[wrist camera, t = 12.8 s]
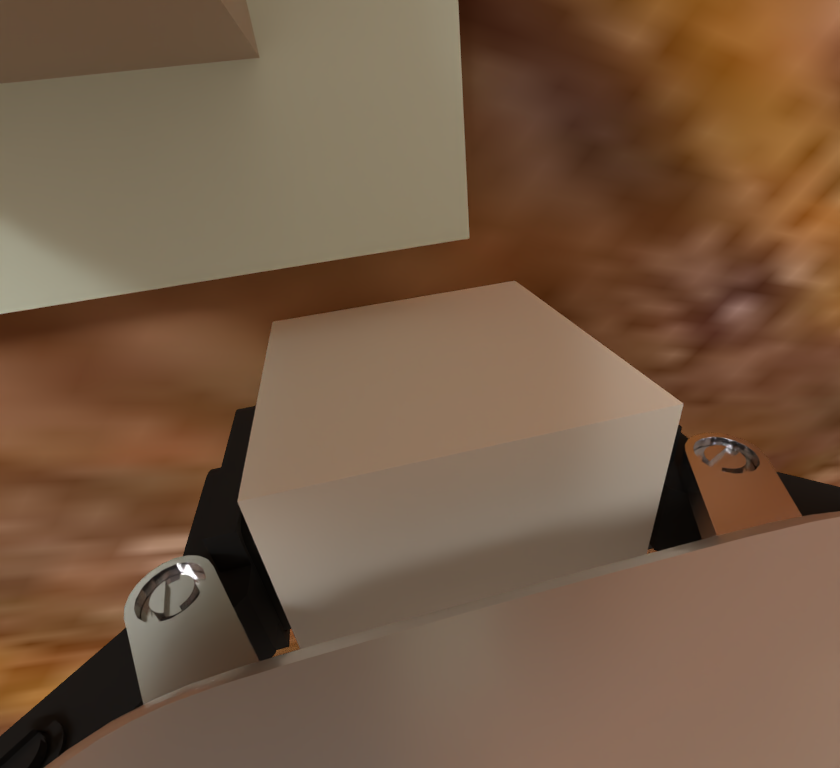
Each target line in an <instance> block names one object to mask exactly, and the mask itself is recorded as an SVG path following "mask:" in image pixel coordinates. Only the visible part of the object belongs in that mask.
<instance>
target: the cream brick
mask: <svg viewBox="0 0 840 768" xmlns="http://www.w3.org/2000/svg"><path fill="white" fill-rule="evenodd" d="M682 408H683V403H682V402H680V401H679V400H678V399H676V398H675V397H674V396H672V395H671V394H670V393H668V392H667V391H665V390H664V389H663V388H661V387H660V386H659V385H657V384H656V383H655V382H653V381H652V380H650V379H649V378H648V377H646V376H645V375H644V374H642V373H641V372H639V371H638V370H637V369H635V368H634V367H633V366H631V365H630V364H629V363H627V362H626V361H624V360H623V359H622V358H620V357H619V356H618V355H616V354H615V353H613V352H612V351H611V350H609V349H608V348H607V347H605V346H604V345H603V344H601V343H600V342H598V341H597V340H596V339H594V338H593V337H592V336H590V335H589V334H588V333H586V332H585V331H583V330H582V329H581V328H579V327H578V326H577V325H575V324H574V323H572V322H571V321H570V320H568V319H567V318H566V317H564V316H563V315H562V314H560V313H559V312H557V311H556V310H555V309H553V308H552V307H551V306H549V305H548V304H546V303H545V302H544V301H542V300H541V299H540V298H538V297H537V296H536V295H534V294H533V293H531V292H530V291H529V290H527V289H526V288H525V287H523V286H522V285H520V284H519V283H518V282H516V281H510V282H504V283H498V284H492V285H487V286H481V287H475V288H469V289H463V290H457V291H451V292H445V293H439V294H433V295H428V296H422V297H416V298H410V299H404V300H398V301H392V302H386V303H380V304H374V305H368V306H363V307H357V308H351V309H345V310H339V311H333V312H327V313H321V314H315V315H309V316H303V317H298V318H292V319H286V320H280V321H274V322H272V327H271V332H270V337H269V342H268V347H267V352H266V357H265V363H264V368H263V373H262V378H261V383H260V388H259V393H258V398H257V403H256V409H255V414H254V419H253V424H252V429H251V434H250V439H249V444H248V450H247V455H246V460H245V465H244V470H243V475H242V480H241V485H240V490H239V496H238V501H237V502H238V504H239V507H240V509H241V511H242V514H243V516H244V518H245V521H246V523H247V526H248V528H249V530H250V533H251V535H252V537H253V540H254V542H255V544H256V547H257V549H258V551H259V554H260V556H261V558H262V561H263V563H264V565H265V568H266V570H267V572H268V575H269V577H270V579H271V582H272V584H273V586H274V589H275V591H276V593H277V596H278V598H279V600H280V603H281V605H282V607H283V610H284V612H285V614H286V617H287V619H288V621H289V624H290V626H291V628H292V631H293V633H294V635H295V638H296V640H297V642H298V645H299V647H300V649H303V648H306V647H310V646H313V645H317V644H320V643H323V642H327V641H330V640H334V639H338V638H341V637H345V636H348V635H352V634H356V633H359V632H363V631H366V630H370V629H374V628H377V627H381V626H384V625H388V624H392V623H395V622H399V621H403V620H406V619H410V618H413V617H417V616H421V615H424V614H428V613H431V612H435V611H439V610H442V609H446V608H449V607H453V606H457V605H460V604H464V603H468V602H471V601H475V600H479V599H482V598H486V597H490V596H493V595H497V594H501V593H504V592H508V591H512V590H515V589H519V588H523V587H526V586H530V585H534V584H537V583H541V582H545V581H549V580H552V579H556V578H560V577H563V576H567V575H571V574H574V573H578V572H582V571H585V570H589V569H593V568H597V567H600V566H604V565H608V564H612V563H615V562H619V561H623V560H627V559H630V558H634V557H638V556H642V555H646V554H647V550H648V546H649V542H650V538H651V534H652V530H653V526H654V522H655V518H656V514H657V510H658V505H659V501H660V497H661V493H662V489H663V485H664V481H665V477H666V473H667V469H668V465H669V461H670V457H671V453H672V449H673V445H674V441H675V436H676V432H677V428H678V424H679V420H680V416H681V412H682Z"/></svg>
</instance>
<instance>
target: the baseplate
mask: <svg viewBox="0 0 840 768" xmlns="http://www.w3.org/2000/svg"><path fill="white" fill-rule="evenodd" d="M462 239H469V217H468V196H467V175H466V153H465V132H464V111H463V90H462V69H461V48H460V27H459V5H458V0H0V314H4V313H10V312H17V311H23V310H29V309H35V308H41V307H48V306H54V305H60V304H66V303H72V302H79V301H85V300H91V299H97V298H103V297H109V296H116V295H122V294H128V293H134V292H140V291H147V290H153V289H159V288H165V287H171V286H178V285H184V284H190V283H196V282H202V281H209V280H215V279H221V278H227V277H233V276H240V275H246V274H252V273H258V272H264V271H270V270H277V269H283V268H289V267H295V266H301V265H308V264H314V263H320V262H326V261H332V260H339V259H345V258H351V257H357V256H363V255H370V254H376V253H382V252H388V251H394V250H401V249H407V248H413V247H419V246H425V245H431V244H438V243H444V242H450V241H456V240H462Z"/></svg>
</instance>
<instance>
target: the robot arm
mask: <svg viewBox="0 0 840 768" xmlns="http://www.w3.org/2000/svg"><path fill="white" fill-rule="evenodd" d="M255 409H256V406H253V407H248V408H243V409H238V410H237V411H236V413H235V417H234V421H233V425H232V428H231V432H230V436H229V440H228V444H227V447H226V451H225V455H224V459H223V463H222V466H221V468H216V469H212V470H210V471H209V472H208V475H207V477H206V480H205V484H204V487H203V490H202V494H201V497H200V500H199V504H198V507H197V510H196V514H195V517H194V521H193V524H192V527H191V531H190V534H189V537H188V541H187V544H186V547H185V551H184V554H183V557H178V558H174V559H172V560H170V561H168V562H166V563H163V564H161V565H160V566H158V567H157V568H155V569H154V570H152V571H151V572H149V573H148V574H147V575H146V576H145V577H144V578H143V579H142V580H141V581H140V582H139V583H138V584H137V585H136V586H135V588H134V589H133V591H132V592H131V593H130V595H129V597H128V600H127V602H126V605H125V607H124V620H125V624H126V628H125V629H124V630H123V631H122V632H121V633H119V634H118V635H117V636H116V637H115V638H114V639H112V640H111V641H110V642H109V643H108V644H107V645H105V646H104V647H103V648H102V649H101V650H100V651H99V652H97V653H96V654H95V655H94V656H93V657H92V658H90V659H89V660H88V661H87V662H86V663H85V664H83V665H82V666H81V667H80V668H79V669H78V670H77V671H75V672H74V673H73V674H72V675H71V676H70V677H68V678H67V679H66V680H65V681H64V682H63V683H61V684H60V685H59V686H58V687H57V688H56V689H55V690H53V691H52V692H51V693H50V694H49V695H48V696H46V697H45V698H44V699H43V700H42V701H41V702H39V703H38V704H37V705H36V706H35V707H34V708H32V709H31V710H30V711H29V712H28V713H27V714H26V715H24V716H23V717H22V718H21V719H20V720H19V721H17V722H16V723H15V724H14V725H13V726H12V727H10V728H9V729H8V730H7V731H6V732H5V733H4V734H2V735H1V736H0V768H840V487H837V486H833V485H829V484H824V483H820V482H816V481H812V480H808V479H804V478H800V477H796V476H792V475H787V474H783V473H779V472H776V471H775V469H774V468H773V466H772V464H771V463H770V461H769V459H768V458H767V456H766V455H765V454H764V453H763V452H762V451H761V450H760V449H759V448H757V447H756V446H755V445H753V444H752V443H750V442H748V441H745V440H743V439H741V438H738V437H735V436H731V435H728V434H722V433H701V434H697V435H694V436H692V437H691V438H689V439H688V438H687V437H686V436H684V435H683V434H682V433H681V428H682V427H681V426H680V425H678V428H677V432H676V436H675V441H674V445H673V449H672V453H671V457H670V461H669V465H668V469H667V473H666V477H665V481H664V485H663V489H662V493H661V497H660V501H659V505H658V510H657V514H656V518H655V522H654V526H653V530H652V534H651V538H650V542H649V546H648V549H652V548H653V549H654V550H656V551H657V552H653V553H649V554H646V555H642V556H638V557H634V558H630V559H627V560H623V561H619V562H615V563H612V564H608V565H604V566H600V567H597V568H593V569H589V570H585V571H582V572H578V573H574V574H571V575H567V576H563V577H560V578H556V579H552V580H549V581H545V582H541V583H537V584H534V585H530V586H526V587H523V588H519V589H515V590H512V591H508V592H504V593H501V594H497V595H493V596H490V597H486V598H482V599H479V600H475V601H471V602H468V603H464V604H460V605H457V606H453V607H449V608H446V609H442V610H439V611H435V612H431V613H428V614H424V615H421V616H417V617H413V618H410V619H406V620H403V621H399V622H395V623H392V624H388V625H384V626H381V627H377V628H374V629H370V630H366V631H363V632H359V633H356V634H352V635H348V636H345V637H341V638H338V639H334V640H330V641H327V642H323V643H320V644H317V645H313V646H310V647H306V648H303V649H300V650H296V651H293V652H289V653H286V654H283V655H279V656H276V657H272V656H273V655H274V654H275V653H276V650H278V649H282V648H285V647H289V638H290V629H291V626H290V624H289V621H288V619H287V617H286V614H285V612H284V610H283V607H282V605H281V603H280V600H279V598H278V596H277V593H276V591H275V589H274V586H273V584H272V582H271V579H270V577H269V575H268V572H267V570H266V568H265V565H264V563H263V561H262V558H261V556H260V554H259V551H258V549H257V547H256V544H255V542H254V540H253V537H252V535H251V533H250V530H249V528H248V526H247V523H246V521H245V518H244V516H243V514H242V511H241V509H240V507H239V504H238V502H237V501H238V496H239V490H240V485H241V480H242V475H243V470H244V465H245V460H246V455H247V450H248V444H249V439H250V434H251V429H252V424H253V419H254V414H255ZM271 657H272V658H271Z"/></svg>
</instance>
